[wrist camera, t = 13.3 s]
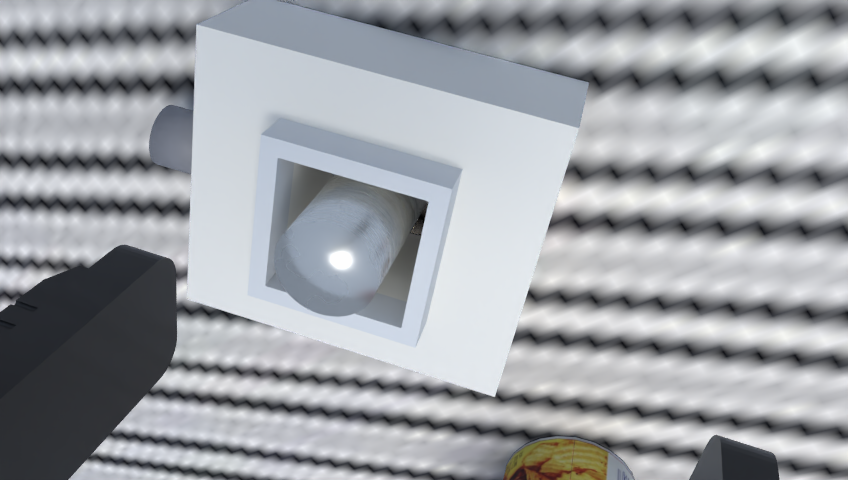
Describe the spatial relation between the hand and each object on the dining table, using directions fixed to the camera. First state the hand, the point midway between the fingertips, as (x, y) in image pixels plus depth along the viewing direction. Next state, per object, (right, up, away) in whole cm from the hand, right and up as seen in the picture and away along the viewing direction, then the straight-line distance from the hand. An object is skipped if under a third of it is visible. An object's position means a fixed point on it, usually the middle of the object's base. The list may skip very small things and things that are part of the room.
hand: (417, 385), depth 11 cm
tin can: (-1, +6, +28) cm, 29 cm away
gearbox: (-3, +6, +28) cm, 29 cm away
